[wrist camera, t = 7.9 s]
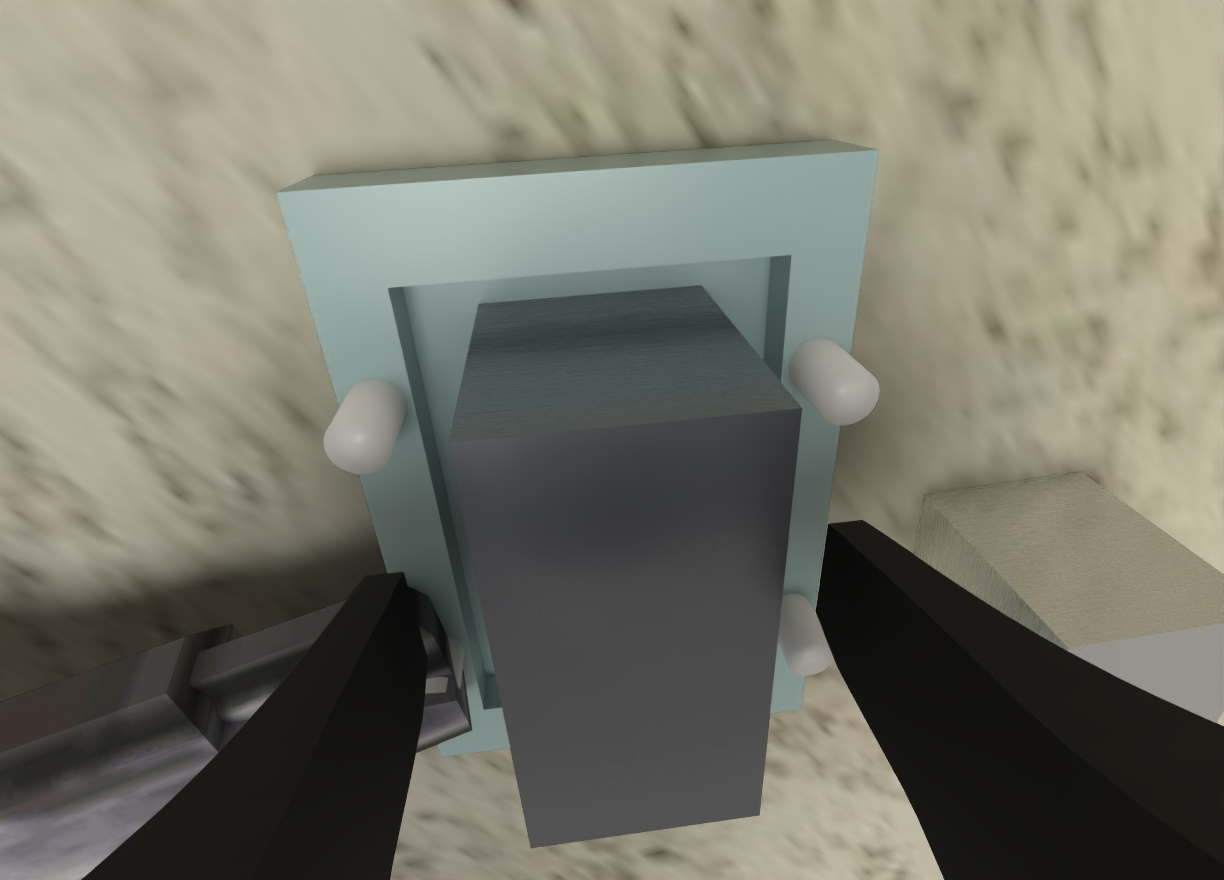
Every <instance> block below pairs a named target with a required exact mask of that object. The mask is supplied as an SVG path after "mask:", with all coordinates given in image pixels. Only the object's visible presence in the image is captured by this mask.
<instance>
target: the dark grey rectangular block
mask: <svg viewBox="0 0 1224 880" xmlns="http://www.w3.org/2000/svg"><path fill="white" fill-rule="evenodd" d="M801 416H802V407H801V406H800V405H799V404H798V402H797V401H796V400H795V399H794V397H793V396H792V395H791V394H790V393H789V391H788V390H787V389H786V388H785V386H784V385H783V384H782V383H781V382H780V380H779V379H778V378H777V377H776V376H775V374H774V373H773V372H772V371H771V369H770V368H769V367H768V366H767V365H766V363H765V362H764V361H763V360H762V358H761V357H760V356H759V355H758V354H757V352H756V351H755V350H754V349H753V347H752V346H751V345H750V344H749V343H748V341H747V340H746V339H745V338H744V337H743V335H742V334H741V333H740V332H739V330H738V329H737V328H736V327H735V326H734V324H733V323H732V322H731V321H730V319H729V318H728V317H727V316H726V315H725V313H724V312H723V311H722V310H721V309H720V307H719V306H718V305H717V304H716V302H715V301H714V300H713V299H712V298H711V296H710V295H709V294H708V293H707V291H706V290H705V289H704V288H703V287H702V285H697V286H685V287H673V288H661V289H649V290H637V291H625V292H613V293H602V294H590V295H578V296H566V297H554V298H542V299H530V300H519V301H507V302H495V303H483V304H478V309H477V313H476V318H475V322H474V327H473V331H472V336H471V340H470V345H469V349H468V354H467V358H466V363H465V367H464V372H463V376H462V381H461V385H460V390H459V394H458V399H457V403H456V408H455V412H454V417H453V422H452V426H451V431H450V435H449V440H448V448H449V452H450V457H451V462H452V467H453V472H454V477H455V482H456V486H457V491H458V496H459V501H460V506H461V511H462V516H463V521H464V525H465V530H466V535H467V540H468V545H469V550H470V555H471V559H472V564H473V569H474V574H475V579H476V584H477V589H478V593H479V598H480V603H481V608H482V613H483V618H484V623H485V628H486V632H487V637H488V642H489V647H490V652H491V657H492V662H493V666H494V671H495V676H496V681H497V686H498V691H499V696H500V701H501V705H502V710H503V715H504V720H505V725H506V730H507V735H508V739H509V744H510V749H511V754H512V759H513V764H514V769H515V774H516V778H517V783H518V788H519V793H520V798H521V803H522V808H523V812H524V817H525V822H526V827H527V832H528V837H529V842H530V847H531V848H536V847H543V846H550V845H557V844H564V843H570V842H577V841H584V840H591V839H598V838H605V837H612V836H619V835H626V834H633V833H640V832H647V831H654V830H661V829H668V828H674V827H681V826H688V825H695V824H702V823H709V822H716V821H723V820H730V819H737V818H744V817H751V816H758V815H760V805H761V796H762V786H763V777H764V767H765V758H766V748H767V739H768V729H769V720H770V710H771V701H772V691H773V682H774V672H775V663H776V653H777V644H778V634H779V625H780V615H781V606H782V597H783V587H784V578H785V568H786V559H787V549H788V540H789V530H790V521H791V511H792V502H793V492H794V483H795V473H796V464H797V454H798V445H799V435H800V426H801Z"/></svg>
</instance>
